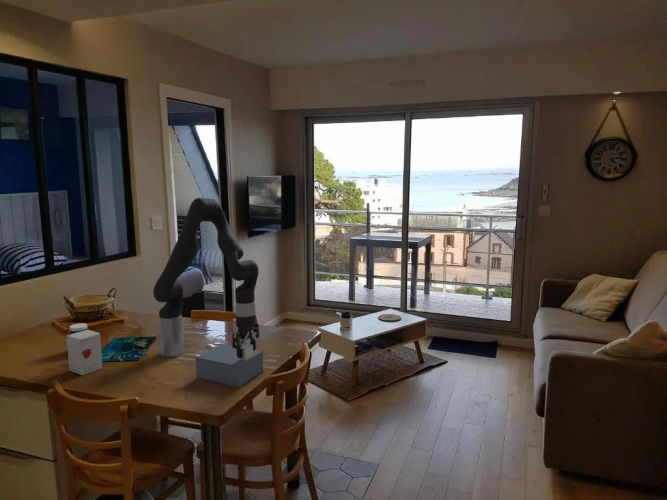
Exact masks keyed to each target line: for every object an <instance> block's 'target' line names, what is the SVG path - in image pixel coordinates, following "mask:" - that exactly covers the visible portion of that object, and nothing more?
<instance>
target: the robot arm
mask: <svg viewBox="0 0 667 500" xmlns="http://www.w3.org/2000/svg"><path fill="white" fill-rule="evenodd" d="M202 222H204V223H205V222H208V223H212V224H213V225H214V227H215V228H216V231H217V238H216V239H217V241H216V242H217V246H218V248H219V250H220V252H221V253H222V255H223V256H224V258H225V260H226V263H227V268H228V272H229V274H230V277H231V278H232V279H233V280H234V281H236V282H241V281H243V282H242V283H241V284H240V285H238V286H237V287H236V288H235V290H234V292H235V306H234V308H235V309H234V310H235V312H234V313H235V318H236V326H237V327H238V332H236V333H235V332H233V331H232V337H231V338H232V341H231V342H232V343H231V344H232V345H231V346H232V348H235V349H237V358H243V349H242V348H243V345H244V343H245V342H246V340H247V339H250V340H251V341H250V344H252V345H253V351H255V350H257V348H256V347H257V344H256V343H257V339H259V338H260V327H259V323H258V322H257V320H256V319H257V317H256V316H257V315H256V313H257V312H256V302H255V299H256V298H255V289H256V287H257V282H258V278H259V277H258V276H259V267H258V264H257V262H256V261H254V260H253V259H247V260H242V261H239V260H241V259H242V258H243V256H244V250H243V248H242V247H241V245H240V243H239V242H238V241H237V239H236V237H235V235H234V234H233V232H232V229H231V227H230V224H229V223H228V219H227V218H226V215H225V212H224V211H223V208H222V206H221V204H220V202H219V201H218V200H216V199H214V198H208V197H207V198H206V197H196V198H195V199H194V200H193V201H192V202H191V203H190V205H189V208H188V212H187V215H186V217H185V220H184V224H183V226H182V229H181V231H180V234H179V236H178V239H177V240H176V242H175V245H174V247H173V248H172V252H171V254H170V256H169V258H168V260H167V263H166V265H165V266H164V268H163V271H162V272H161V274H160V276H159V277H158V278H157V280H156V282H155V284H154V286H153V291H152V292H153V294H152V295H153V297H154V300H155V301H157V302H158V303H165V304H164V305H163V306H162V307H161V308H160V309H159V311H158V317H159V318H158V319H159V332H158V350H159V354H160V355H161V356H162V357H165V358H174V357H178V356H181V355H182V354H183V353H184V337H183V333H184V332H183V320H182V319H183V318H182V311H183V309H184V290H183V284H182V282H181V281H180V279H179V278H180V276H181V275H183V273H185V272H186V271H187V269H188V268H189V267H190V266H191V265H192V264H193V262H194V260H195V258H196V257H197V255H198V252H199V247H200V246H199V241H198V238H197V232H198V229H199V227H200V225H201V223H202ZM235 318H234V319H235ZM240 338H241V339H242V340H240ZM235 342H236V345H235ZM240 343H241V345H240Z"/></svg>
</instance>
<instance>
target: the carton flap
mask: <svg viewBox="0 0 667 500" xmlns="http://www.w3.org/2000/svg"><path fill="white" fill-rule="evenodd" d="M242 349H243V358H237V349H235V348H232V345H231V344H227V343H226V344H224V343H220V344H218V345H217V346H214V347H212V348H211V349H208V350H207V351H205V352H203V353H200V354H199V355H196V357H194V358H195V360H196V359H200V360H205V361H209V362H214V363H219V364H224V365H229V366H234V367H240V366H242V365H244V364H245V363H247V362H248V361H250V360H252V359H253V358H255V357H257V356H258V355H260V354H261V353H263V351H262V350H257V349H256V350H255V351H253V345H252V344H246V345H244V346H243V348H242ZM263 354H264V353H263Z"/></svg>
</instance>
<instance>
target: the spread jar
mask: <svg viewBox="0 0 667 500" xmlns="http://www.w3.org/2000/svg"><path fill="white" fill-rule="evenodd" d="M85 330H90V329H89V328H88V324H87V323H84V322H83V323H80V322H79V323H74V324H71V325H70V326H69V331H68V332H67V334H66V337H65V342H66V343H65V345H66V348H67V350H68V345H67V335H70V334H74V333H77V332H81V331H85Z"/></svg>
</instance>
